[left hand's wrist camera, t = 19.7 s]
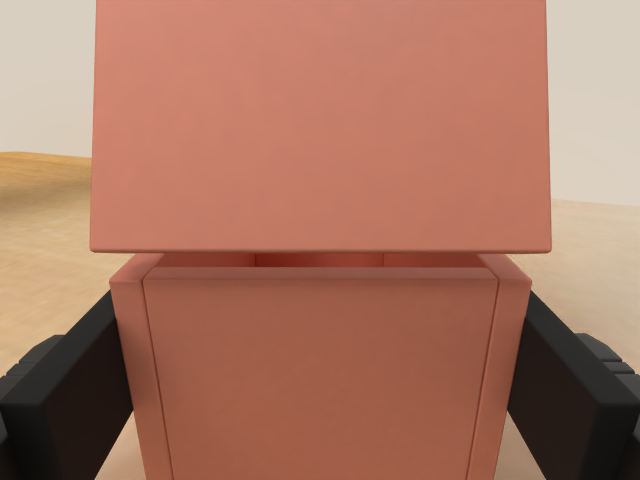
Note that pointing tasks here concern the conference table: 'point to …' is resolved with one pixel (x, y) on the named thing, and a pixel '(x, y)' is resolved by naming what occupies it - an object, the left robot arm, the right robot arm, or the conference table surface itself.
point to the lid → (321, 127)
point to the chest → (320, 363)
